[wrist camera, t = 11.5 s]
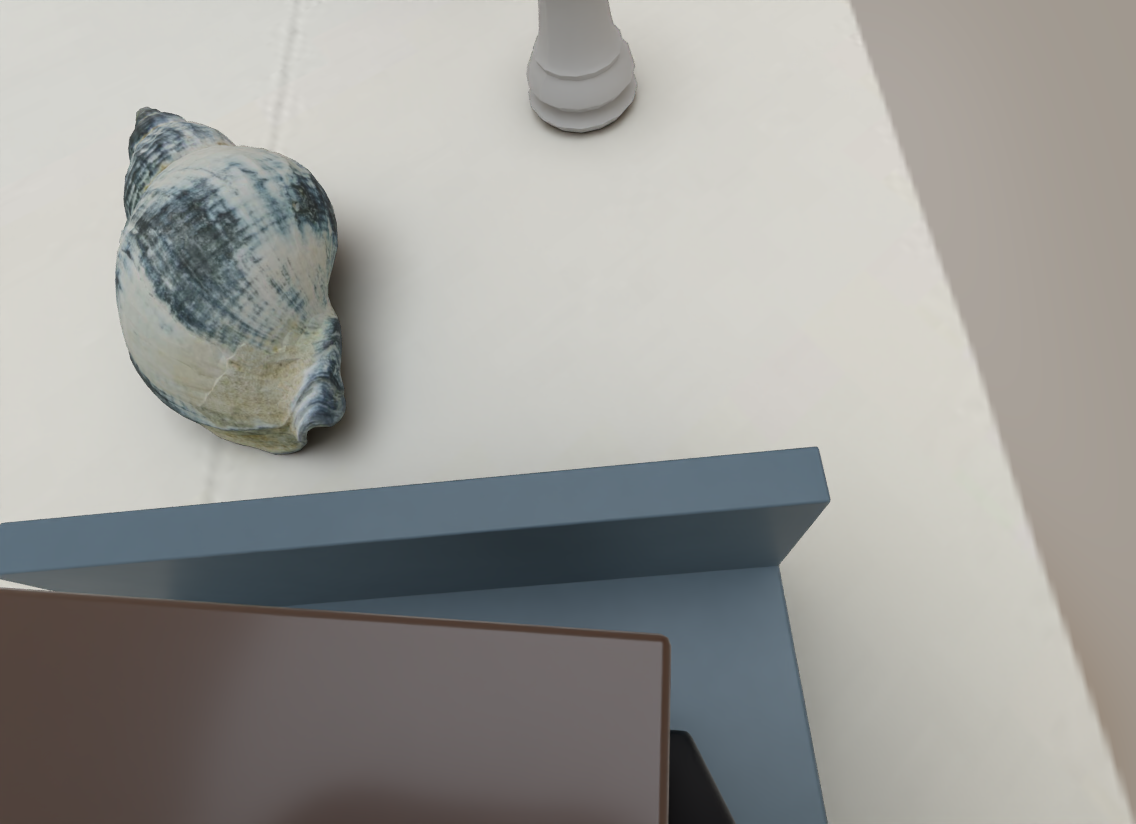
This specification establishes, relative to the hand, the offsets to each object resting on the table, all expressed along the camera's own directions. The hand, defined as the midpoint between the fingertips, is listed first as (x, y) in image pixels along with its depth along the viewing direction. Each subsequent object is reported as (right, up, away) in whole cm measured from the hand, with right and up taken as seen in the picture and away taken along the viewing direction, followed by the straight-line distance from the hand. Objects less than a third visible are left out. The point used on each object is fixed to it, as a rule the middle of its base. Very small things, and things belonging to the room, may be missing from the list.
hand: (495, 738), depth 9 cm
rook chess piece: (+2, +17, +20) cm, 26 cm away
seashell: (-10, +8, +17) cm, 21 cm away
